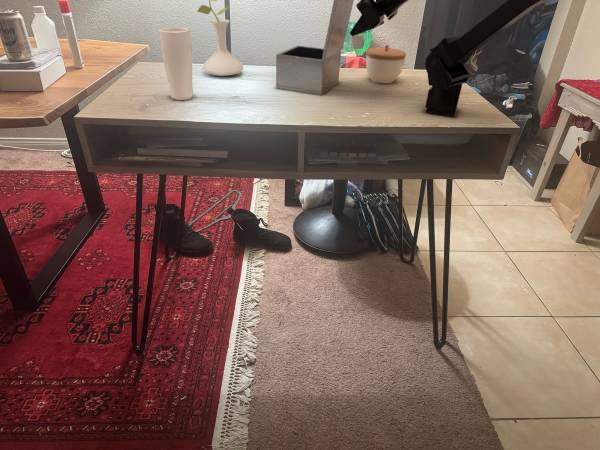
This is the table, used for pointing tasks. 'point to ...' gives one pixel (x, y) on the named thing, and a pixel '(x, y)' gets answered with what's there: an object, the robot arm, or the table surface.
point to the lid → (337, 27)
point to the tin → (307, 70)
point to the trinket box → (384, 64)
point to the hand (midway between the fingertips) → (351, 34)
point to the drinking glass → (177, 60)
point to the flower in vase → (220, 49)
